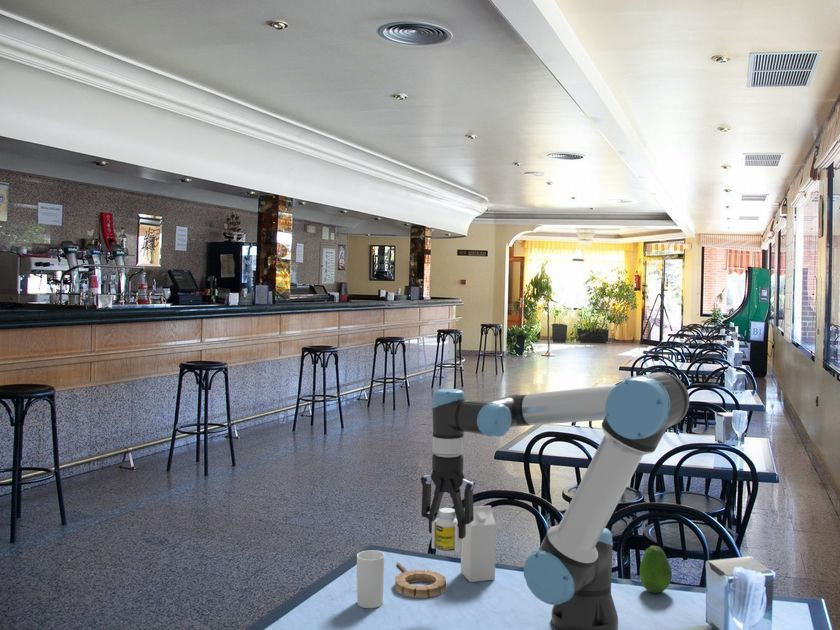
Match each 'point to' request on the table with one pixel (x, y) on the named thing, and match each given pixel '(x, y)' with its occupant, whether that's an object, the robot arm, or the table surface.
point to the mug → (370, 578)
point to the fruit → (655, 570)
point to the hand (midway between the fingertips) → (446, 548)
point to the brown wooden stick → (401, 567)
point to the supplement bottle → (446, 530)
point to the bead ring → (420, 591)
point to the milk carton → (479, 546)
